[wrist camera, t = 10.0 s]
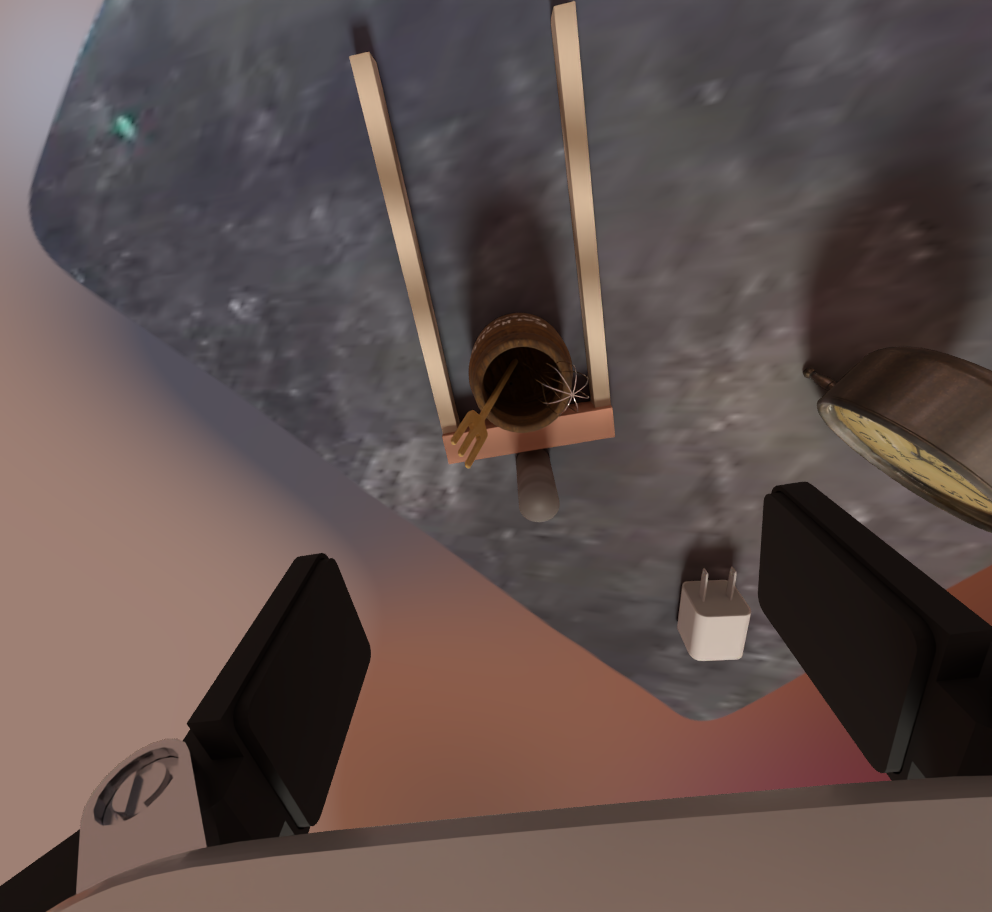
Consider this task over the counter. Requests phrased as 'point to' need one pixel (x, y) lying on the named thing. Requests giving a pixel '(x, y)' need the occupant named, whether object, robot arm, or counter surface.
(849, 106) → the counter surface
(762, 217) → the counter surface
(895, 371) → the alarm clock
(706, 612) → the usb wall charger
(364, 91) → the guide channel
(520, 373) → the utensil holder
